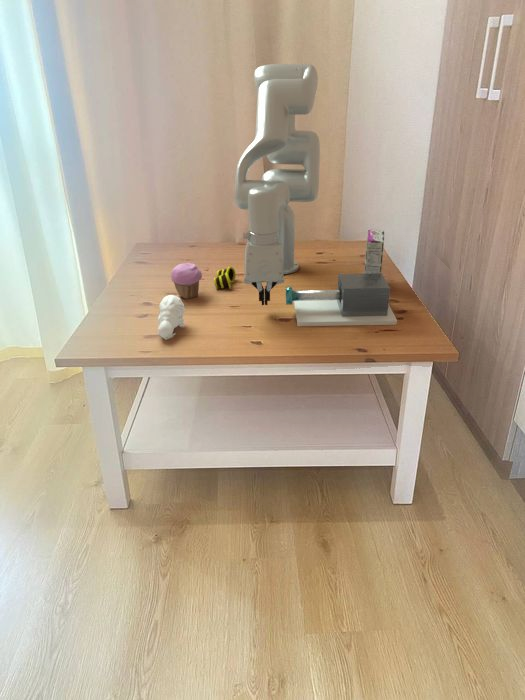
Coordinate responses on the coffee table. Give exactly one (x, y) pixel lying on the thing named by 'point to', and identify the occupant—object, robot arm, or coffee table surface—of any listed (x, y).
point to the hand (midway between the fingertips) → (264, 303)
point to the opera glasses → (225, 278)
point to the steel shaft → (311, 295)
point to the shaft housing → (363, 295)
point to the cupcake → (186, 279)
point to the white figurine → (170, 316)
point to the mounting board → (335, 315)
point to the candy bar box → (374, 251)
